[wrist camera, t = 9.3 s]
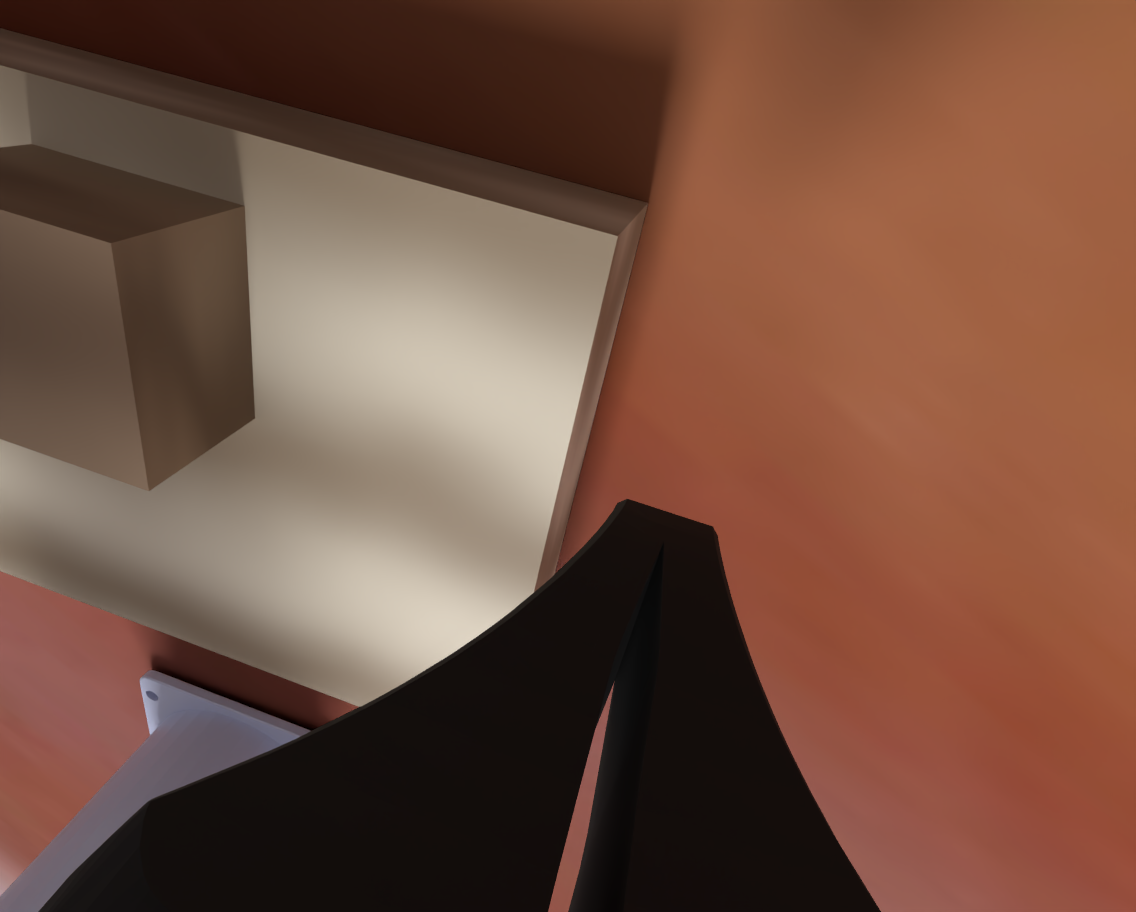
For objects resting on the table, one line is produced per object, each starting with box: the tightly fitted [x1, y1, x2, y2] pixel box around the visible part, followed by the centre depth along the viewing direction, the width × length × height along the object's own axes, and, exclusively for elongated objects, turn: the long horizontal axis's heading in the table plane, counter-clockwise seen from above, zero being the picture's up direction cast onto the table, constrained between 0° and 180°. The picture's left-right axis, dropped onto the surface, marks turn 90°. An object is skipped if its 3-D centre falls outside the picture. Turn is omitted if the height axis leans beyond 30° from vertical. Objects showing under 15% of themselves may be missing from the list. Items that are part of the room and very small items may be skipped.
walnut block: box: [0, 144, 255, 491], centre depth 13 cm, size 4×4×3 cm
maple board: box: [0, 28, 648, 707], centre depth 17 cm, size 14×16×3 cm
